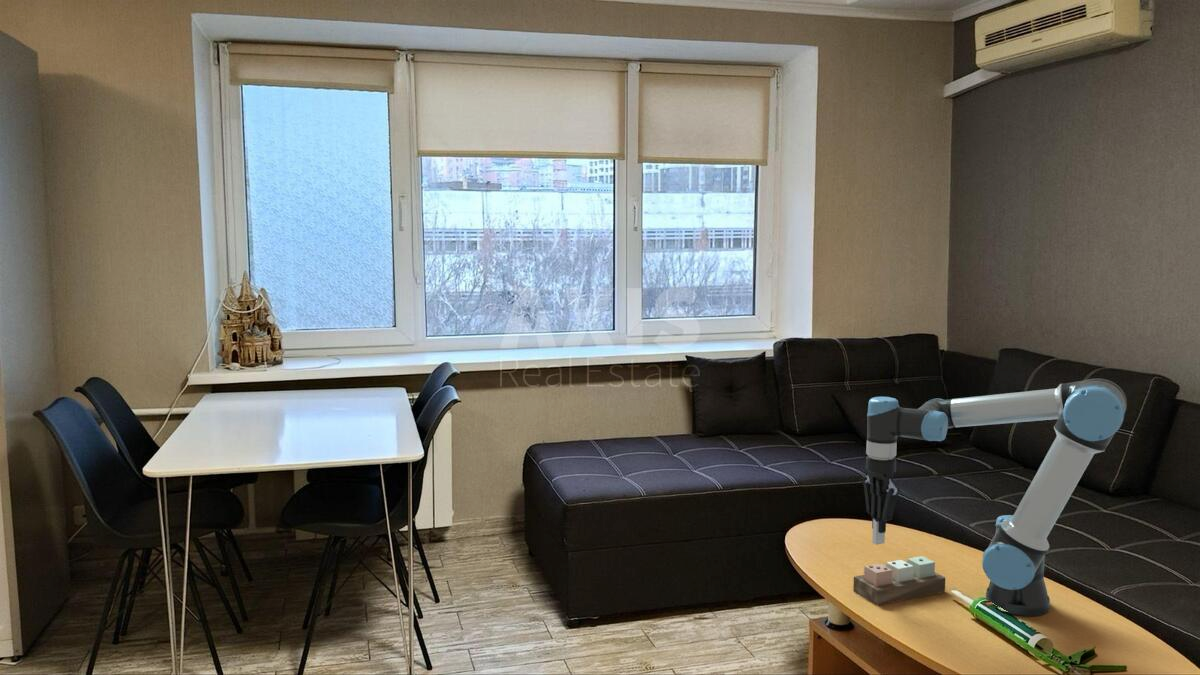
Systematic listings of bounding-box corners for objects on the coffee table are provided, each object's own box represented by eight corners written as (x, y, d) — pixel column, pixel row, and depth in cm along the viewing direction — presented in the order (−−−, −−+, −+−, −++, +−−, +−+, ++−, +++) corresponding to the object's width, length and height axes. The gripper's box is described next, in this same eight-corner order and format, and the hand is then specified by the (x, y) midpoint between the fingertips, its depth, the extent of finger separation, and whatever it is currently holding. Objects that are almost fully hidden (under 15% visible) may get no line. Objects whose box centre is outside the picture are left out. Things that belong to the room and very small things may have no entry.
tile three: (891, 588, 240) (892, 569, 240) (875, 591, 239) (876, 572, 238) (879, 581, 245) (879, 562, 244) (864, 584, 243) (864, 565, 243)
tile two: (913, 584, 243) (913, 565, 242) (897, 586, 241) (898, 568, 240) (900, 577, 247) (901, 558, 247) (885, 580, 246) (886, 561, 245)
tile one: (934, 580, 245) (934, 561, 244) (919, 582, 243) (919, 564, 243) (921, 573, 250) (922, 555, 249) (906, 576, 248) (907, 557, 247)
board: (944, 591, 244) (945, 577, 243) (876, 605, 236) (877, 590, 236) (919, 578, 253) (920, 564, 252) (853, 590, 245) (853, 576, 245)
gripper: (909, 461, 232) (906, 549, 236) (877, 449, 245) (874, 533, 248) (885, 464, 230) (882, 553, 233) (854, 451, 242) (851, 536, 245)
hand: (878, 542), depth 240 cm, fingers closed
